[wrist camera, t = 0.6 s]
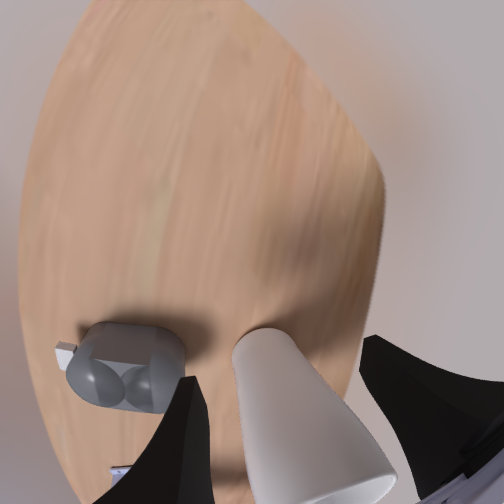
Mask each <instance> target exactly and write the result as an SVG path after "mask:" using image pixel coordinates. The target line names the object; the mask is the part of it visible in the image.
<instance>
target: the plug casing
mask: <svg viewBox="0 0 504 504" xmlns="http://www.w3.org/2000/svg"><path fill="white" fill-rule="evenodd" d="M55 351H56V356H57V359H58V363H59V367H60V369H61V370H65V371H66V378H67V381H68V383H69V385H70V387H71V388H72V389H73V391H74V392H75V393H76V394H77V395H78V396H79V397H81V398H82V399H83V400H85V401H87V402H89V403H91V404H93V405H96V406H101V407H107V408H113V409H120V410H127V411H135V412H144V413H154V414H162V413H165V412H166V410H167V408H168V406H169V404H170V402H171V399H172V397H173V394H174V392H175V389H176V387H177V384H178V381H179V379H180V378H181V377H185V347H184V344H183V342H182V341H181V339H180V338H179V337H178V336H177V335H176V334H175V333H173V332H171V331H169V330H167V329H165V328H160V327H151V326H139V325H129V324H120V323H111V322H99V323H96V324H94V325H93V326H91V327H90V329H89V330H88V332H87V333H86V335H85V337H84V338H83V340H82V342H81V343H80V345H79V347H78V348H77V345H76V344H71V343H65V342H60V341H59V343H58V344H57V346H56V347H55Z"/></svg>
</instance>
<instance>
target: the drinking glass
mask: <svg viewBox="0 0 504 504" xmlns="http://www.w3.org/2000/svg"><path fill="white" fill-rule="evenodd" d="M231 361H232V367H233V371H234V376H235V384H236V392H237V400H238V409H239V417H240V426H241V434H242V442H243V450H244V457H245V464H246V469H247V474H248V479H249V483H250V487H251V491H252V494H253V498H254V501H255V504H375V503H376V502H378V501H379V500H380V499H382V498H383V497H384V496H385V495H386V494H387V493H388V492H389V491H390V490H391V489H392V488H393V486H394V485H395V483H396V481H397V479H398V475H397V473H396V471H395V470H394V468H393V467H392V465H391V463H390V462H389V460H388V458H387V457H386V455H385V454H384V452H383V451H382V449H381V448H380V446H379V445H378V443H377V442H376V440H375V439H374V438H373V436H372V435H371V434H370V432H369V431H368V430H367V428H366V427H365V426H364V425H363V423H362V422H361V421H360V420H359V418H358V417H357V416H356V415H355V414H354V413H353V411H352V410H351V409H350V408H349V407H348V406H347V405H346V403H345V402H344V401H343V400H342V399H341V398H340V397H339V396H338V394H337V393H336V392H335V391H334V390H333V389H332V388H331V386H330V385H329V384H328V383H327V382H326V381H325V380H324V378H323V377H322V376H321V375H320V374H319V373H318V372H317V370H316V369H315V368H314V367H313V366H312V364H311V363H310V362H309V361H308V360H307V359H306V357H305V356H304V355H303V354H302V352H301V351H300V350H299V349H298V347H297V346H296V344H295V342H294V341H293V339H292V338H291V337H290V336H289V335H288V334H286V333H285V332H283V331H281V330H278V329H274V328H262V329H257V330H254V331H252V332H250V333H248V334H246V335H245V336H243V337H242V338H241V339H240V340H239V341H238V343H237V344H236V345H235V347H234V349H233V352H232V358H231Z"/></svg>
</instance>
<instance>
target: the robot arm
mask: <svg viewBox="0 0 504 504" xmlns="http://www.w3.org/2000/svg"><path fill="white" fill-rule="evenodd" d="M359 372H360V374H361V376H362V378H363V380H364V382H365V385H366V387H367V389H368V390H369V392H370V393H371V395H372V397H373V398H374V400H375V401H376V403H377V404H378V406H379V407H380V409H381V410H382V412H383V413H384V415H385V416H386V418H387V419H388V420H389V422H390V424H391V426H392V427H393V429H394V431H395V433H396V435H397V437H398V440H399V442H400V444H401V446H402V449H403V451H404V453H405V456H406V458H407V461H408V463H409V466H410V469H411V472H412V475H413V478H414V482H415V485H416V489H417V493H418V496H419V498H420V500H421V501H420V502H418V503H416V504H440V503H441V504H502V503H503V502H504V382H497V381H487V380H480V379H475V378H470V377H466V376H462V375H459V374H455V373H452V372H449V371H446V370H444V369H441V368H439V367H436V366H434V365H432V364H429V363H427V362H425V361H423V360H421V359H419V358H417V357H415V356H413V355H411V354H410V353H408V352H406V351H404V350H402V349H401V348H399V347H397V346H395V345H393V344H392V343H390V342H388V341H386V340H385V339H383V338H381V337H380V336H378V335H372V336H369V337H366V338H364V341H363V348H362V355H361V361H360V367H359ZM109 471H110V472H111V473H112V474H113V479H112V486H111V489H110V490H109V491H107V492H106V493H105V494H104V495H102V496H101V497H100V498H99V499H98V500H96V501H95V502H94V503H92V504H215V501H214V496H213V490H212V483H211V475H210V426H209V418H208V410H207V405H206V402H205V400H204V397H203V394H202V392H201V389H200V387H199V384H198V381H197V379H196V376H188V377H181V378H180V379H179V381H178V384H177V387H176V389H175V392H174V394H173V397H172V399H171V402H170V404H169V406H168V408H167V410H166V412H165V415H164V417H163V419H162V421H161V423H160V424H159V426H158V428H157V430H156V432H155V434H154V435H153V437H152V439H151V440H150V442H149V444H148V445H147V447H146V448H145V450H144V451H143V452H142V454H141V455H140V457H139V458H138V459H137V460H136V462H135V463H134V464H133V466H132V467H122V468H110V470H109Z"/></svg>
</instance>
